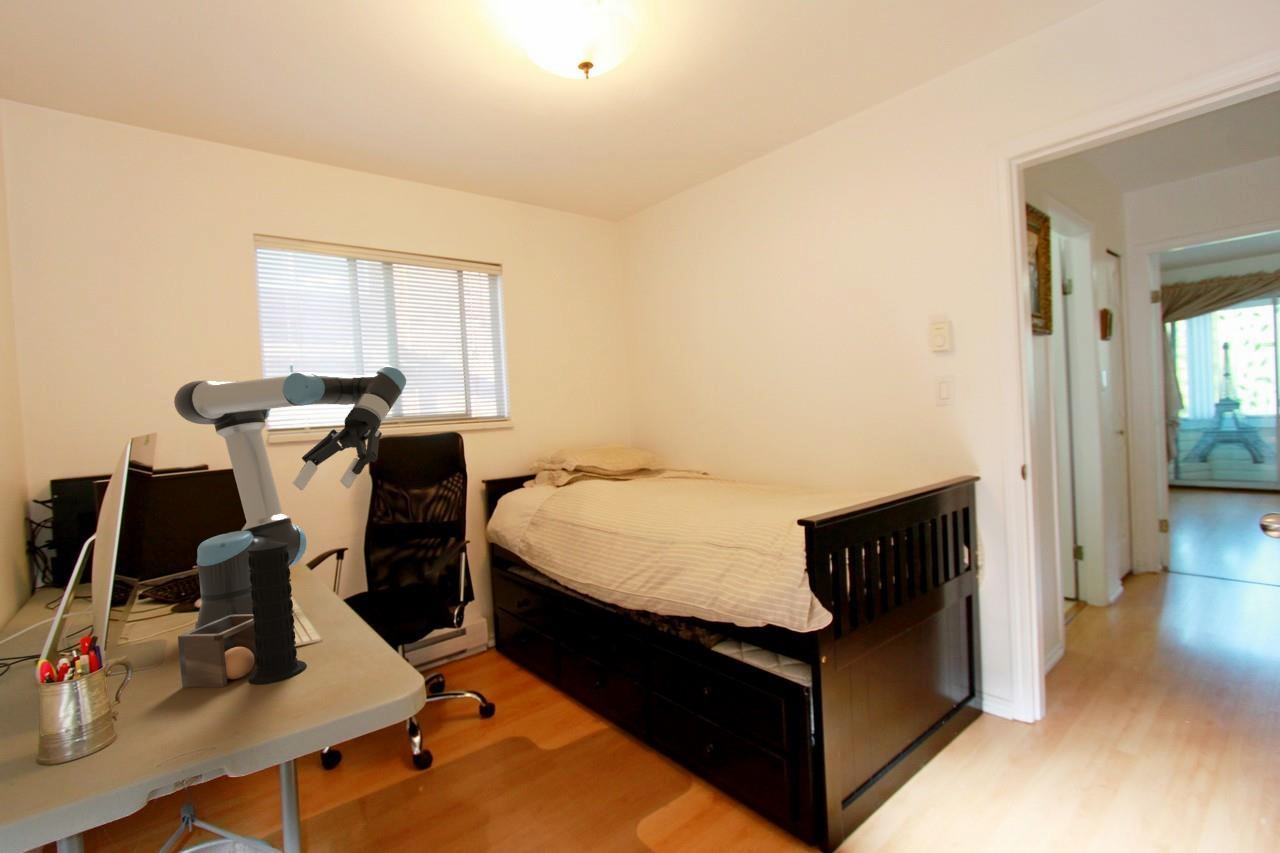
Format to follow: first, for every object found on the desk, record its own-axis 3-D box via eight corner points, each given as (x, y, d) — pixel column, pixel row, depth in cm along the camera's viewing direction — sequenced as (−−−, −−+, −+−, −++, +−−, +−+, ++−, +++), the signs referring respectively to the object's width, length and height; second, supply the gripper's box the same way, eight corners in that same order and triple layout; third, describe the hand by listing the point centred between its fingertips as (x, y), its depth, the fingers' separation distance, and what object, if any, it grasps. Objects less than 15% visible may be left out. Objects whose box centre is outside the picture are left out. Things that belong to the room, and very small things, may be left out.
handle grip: (284, 683, 111) (317, 661, 121) (273, 545, 111) (307, 535, 121) (235, 685, 112) (272, 662, 122) (224, 548, 112) (262, 537, 122)
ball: (265, 658, 119) (237, 657, 120) (253, 641, 116) (224, 640, 116) (247, 686, 115) (219, 684, 115) (234, 668, 111) (204, 667, 112)
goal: (234, 660, 125) (230, 614, 125) (271, 660, 123) (267, 613, 123) (182, 687, 113) (177, 636, 113) (223, 687, 112) (218, 635, 111)
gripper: (416, 423, 142) (375, 494, 128) (336, 430, 150) (290, 497, 136) (399, 402, 137) (354, 473, 123) (317, 409, 145) (267, 477, 131)
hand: (320, 485), depth 130 cm, fingers open, 13 cm apart
